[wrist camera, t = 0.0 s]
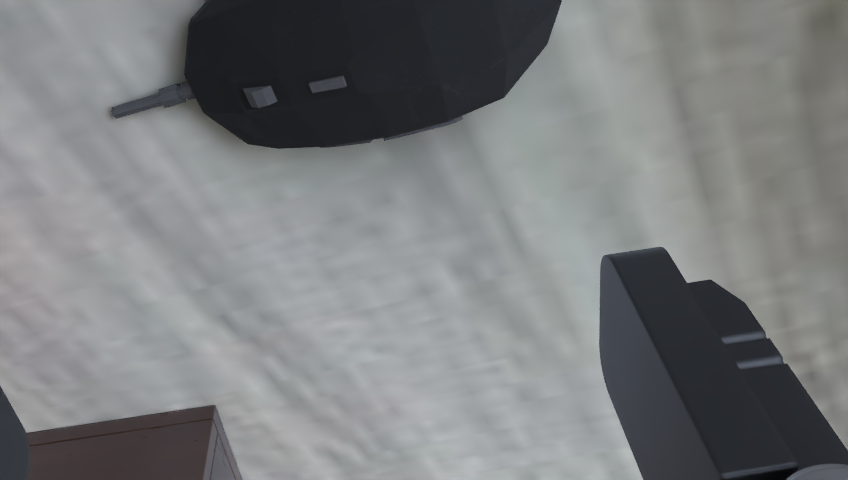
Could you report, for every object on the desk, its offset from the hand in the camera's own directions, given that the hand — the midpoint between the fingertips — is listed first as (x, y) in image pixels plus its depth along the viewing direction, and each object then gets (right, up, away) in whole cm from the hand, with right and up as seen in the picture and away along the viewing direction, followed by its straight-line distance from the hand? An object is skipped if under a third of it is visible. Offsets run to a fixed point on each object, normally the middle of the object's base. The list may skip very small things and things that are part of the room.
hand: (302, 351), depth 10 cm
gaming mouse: (-2, +8, +15) cm, 17 cm away
